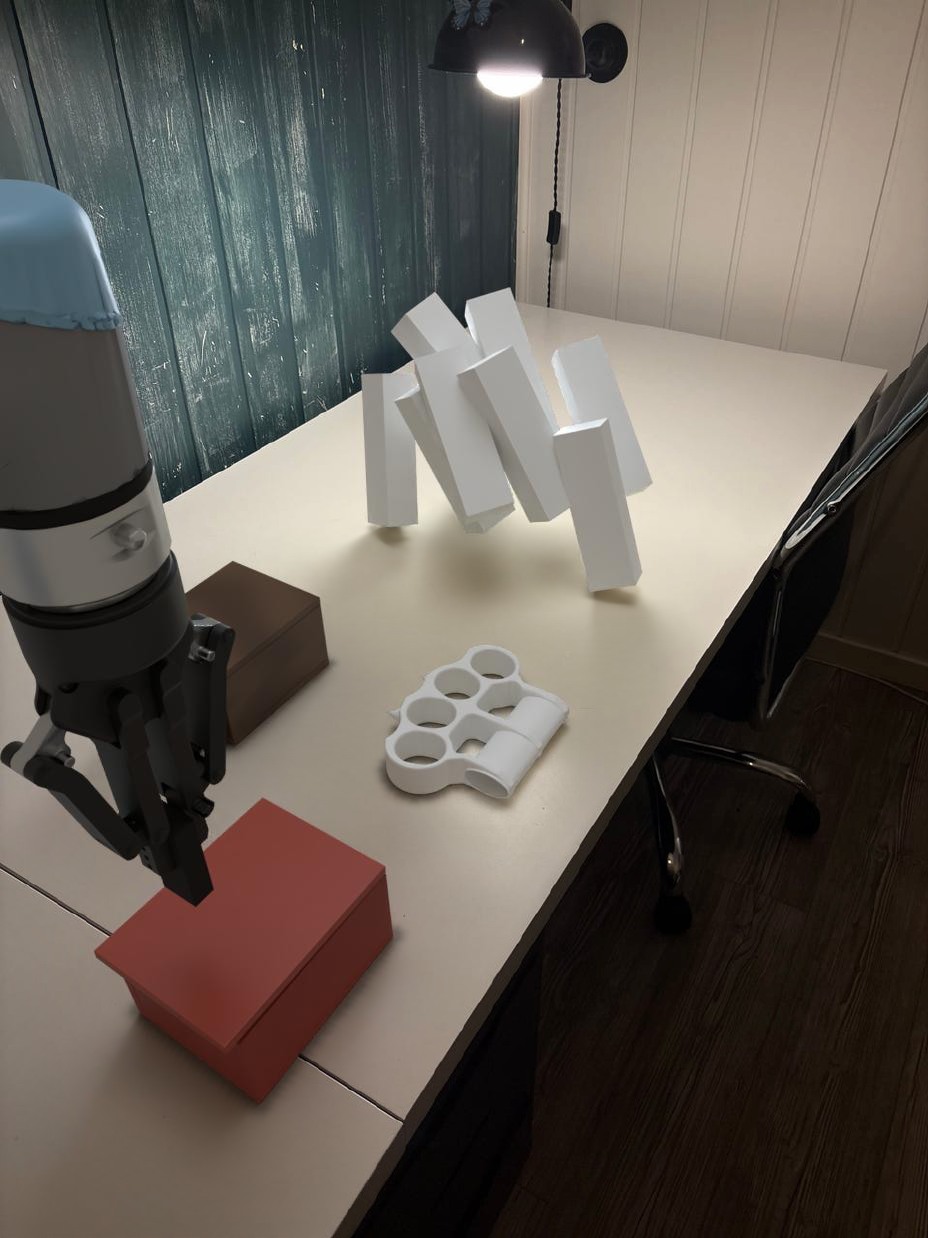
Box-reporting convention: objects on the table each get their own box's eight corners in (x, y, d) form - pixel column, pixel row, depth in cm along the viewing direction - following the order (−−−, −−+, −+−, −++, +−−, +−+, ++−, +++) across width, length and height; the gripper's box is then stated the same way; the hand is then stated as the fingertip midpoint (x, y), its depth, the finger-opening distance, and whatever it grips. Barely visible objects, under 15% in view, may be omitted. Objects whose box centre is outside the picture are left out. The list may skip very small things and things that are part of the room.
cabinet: (235, 746, 85) (218, 677, 80) (149, 699, 90) (127, 632, 85) (329, 663, 94) (320, 596, 88) (246, 625, 99) (232, 560, 93)
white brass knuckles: (490, 833, 77) (349, 766, 83) (583, 703, 89) (454, 653, 95) (490, 806, 75) (346, 740, 81) (585, 678, 86) (454, 628, 92)
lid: (226, 1055, 54) (224, 1048, 53) (95, 958, 59) (92, 951, 58) (386, 873, 64) (385, 866, 64) (264, 803, 69) (262, 796, 69)
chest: (260, 1104, 60) (240, 1046, 55) (139, 1012, 65) (110, 951, 60) (393, 936, 69) (386, 873, 64) (278, 867, 74) (264, 804, 69)
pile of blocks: (679, 549, 118) (643, 266, 111) (649, 602, 91) (599, 231, 84) (430, 578, 130) (384, 325, 123) (337, 633, 103) (271, 311, 96)
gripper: (13, 680, 35) (148, 1006, 49) (253, 525, 43) (307, 842, 58) (-100, 614, 38) (58, 938, 53) (144, 482, 47) (221, 792, 61)
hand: (188, 887), depth 55 cm, fingers closed
